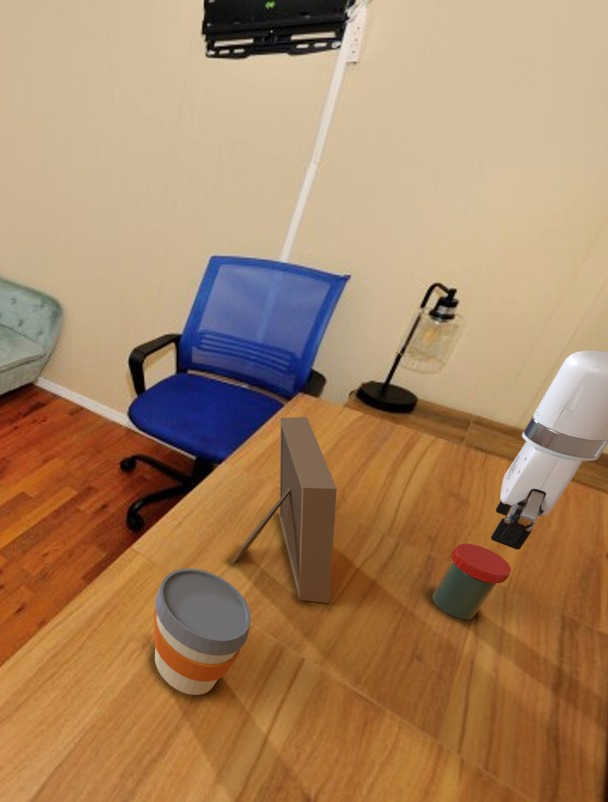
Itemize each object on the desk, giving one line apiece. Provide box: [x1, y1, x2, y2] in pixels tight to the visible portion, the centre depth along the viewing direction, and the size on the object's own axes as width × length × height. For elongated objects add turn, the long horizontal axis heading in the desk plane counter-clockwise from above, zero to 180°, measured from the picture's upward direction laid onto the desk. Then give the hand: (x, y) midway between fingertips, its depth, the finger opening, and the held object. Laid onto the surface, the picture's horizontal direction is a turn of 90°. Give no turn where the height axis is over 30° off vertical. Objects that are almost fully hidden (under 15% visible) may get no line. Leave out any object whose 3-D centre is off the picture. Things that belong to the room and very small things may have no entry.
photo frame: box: [231, 416, 338, 604], centre depth 93 cm, size 15×22×25 cm
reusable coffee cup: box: [152, 567, 252, 696], centre depth 76 cm, size 12×12×15 cm
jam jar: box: [431, 561, 498, 620], centre depth 85 cm, size 6×6×11 cm
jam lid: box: [450, 543, 512, 584], centre depth 83 cm, size 7×7×2 cm
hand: (506, 528), depth 79 cm, fingers open, 7 cm apart
